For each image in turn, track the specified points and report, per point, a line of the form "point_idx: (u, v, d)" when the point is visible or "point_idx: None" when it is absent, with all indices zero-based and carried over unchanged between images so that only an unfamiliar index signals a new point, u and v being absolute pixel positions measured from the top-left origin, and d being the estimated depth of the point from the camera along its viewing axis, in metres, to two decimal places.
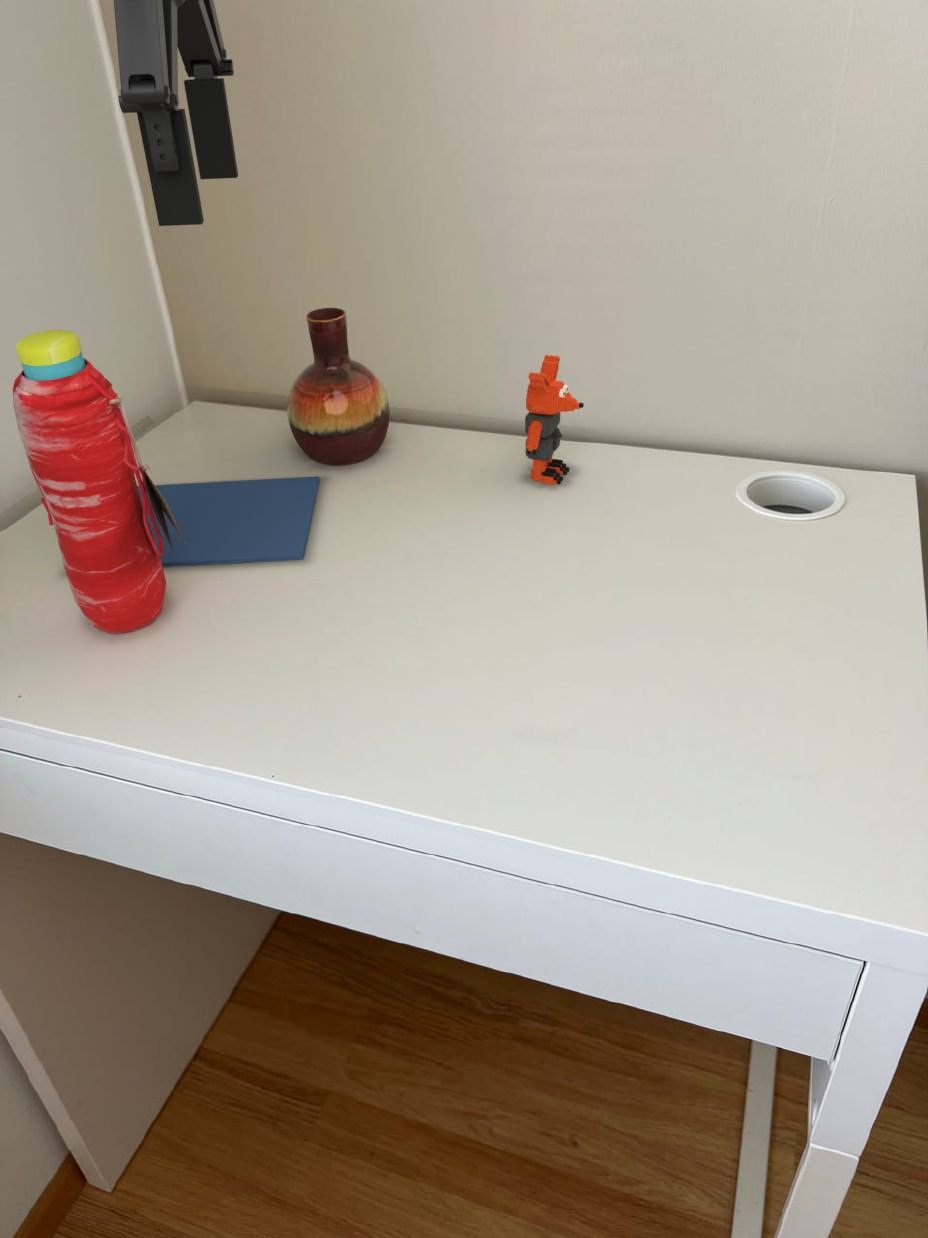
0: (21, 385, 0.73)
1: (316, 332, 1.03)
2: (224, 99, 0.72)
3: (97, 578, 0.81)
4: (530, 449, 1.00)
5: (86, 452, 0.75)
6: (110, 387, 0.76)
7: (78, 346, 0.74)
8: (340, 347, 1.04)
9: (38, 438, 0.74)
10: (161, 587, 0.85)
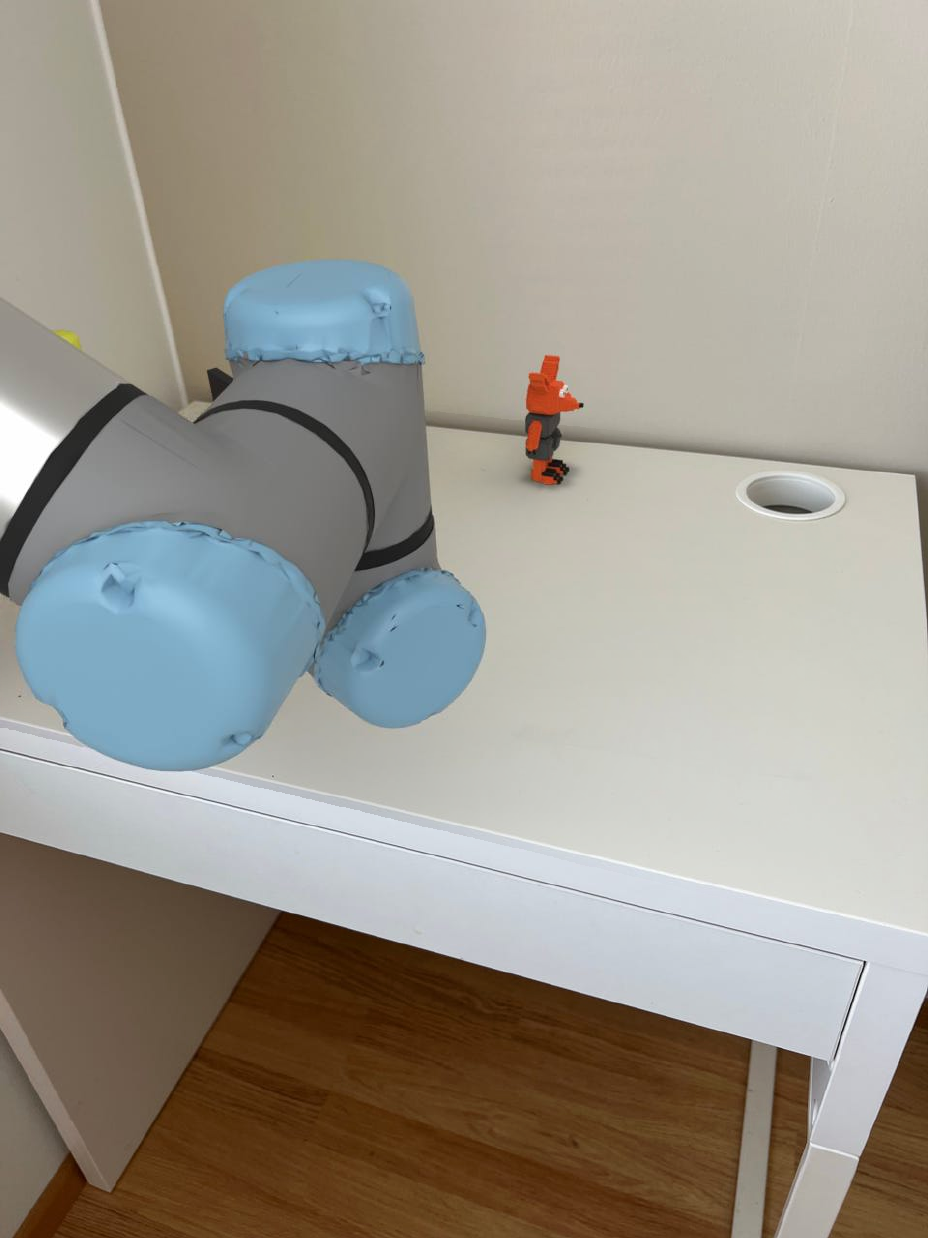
0: None
1: None
2: None
3: None
4: (530, 449, 1.00)
5: None
6: None
7: (78, 346, 0.74)
8: None
9: None
10: None
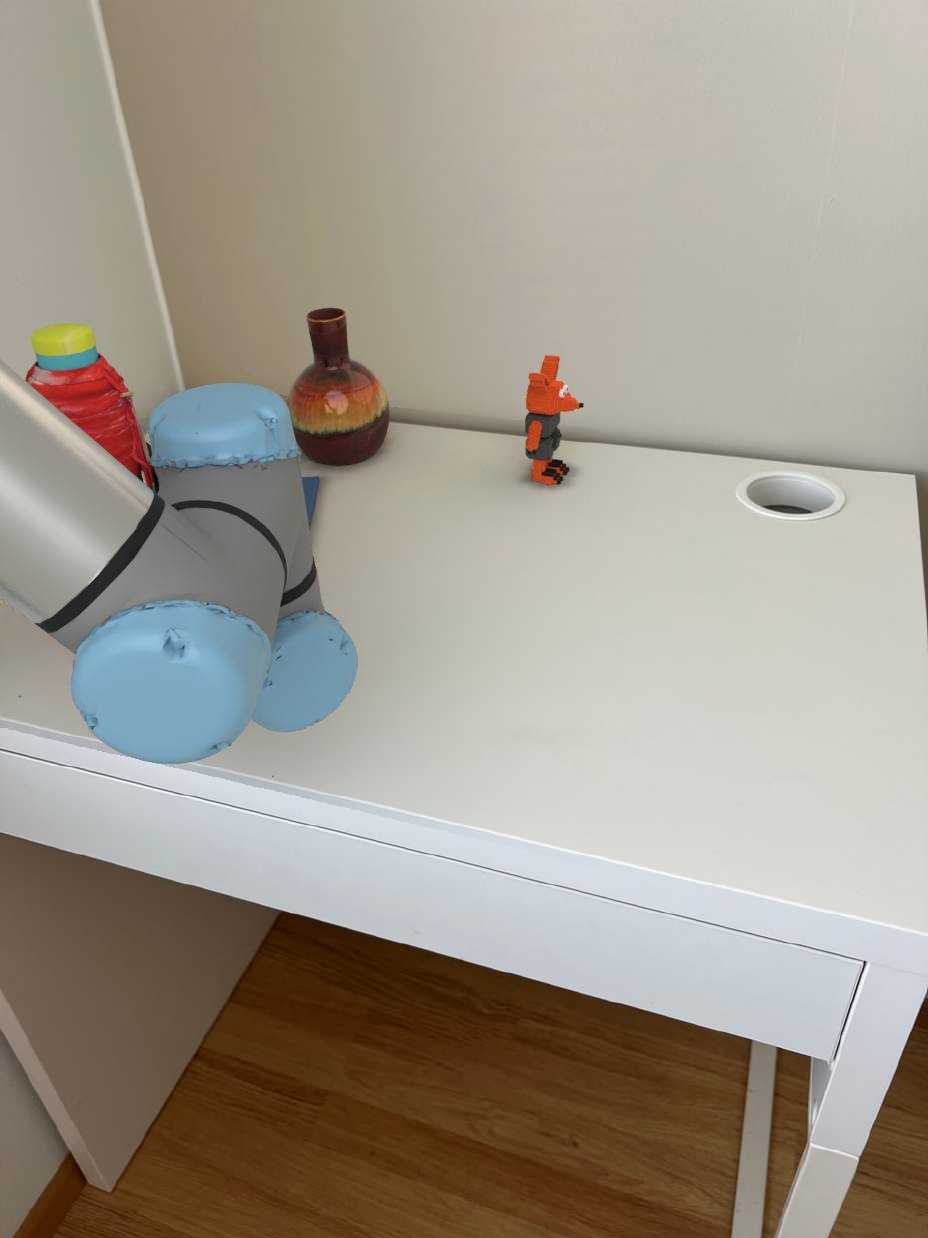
0: (34, 375, 0.74)
1: (316, 332, 1.03)
2: (157, 483, 0.82)
3: None
4: (530, 449, 1.00)
5: None
6: (122, 381, 0.77)
7: (92, 339, 0.75)
8: (340, 347, 1.04)
9: None
10: None
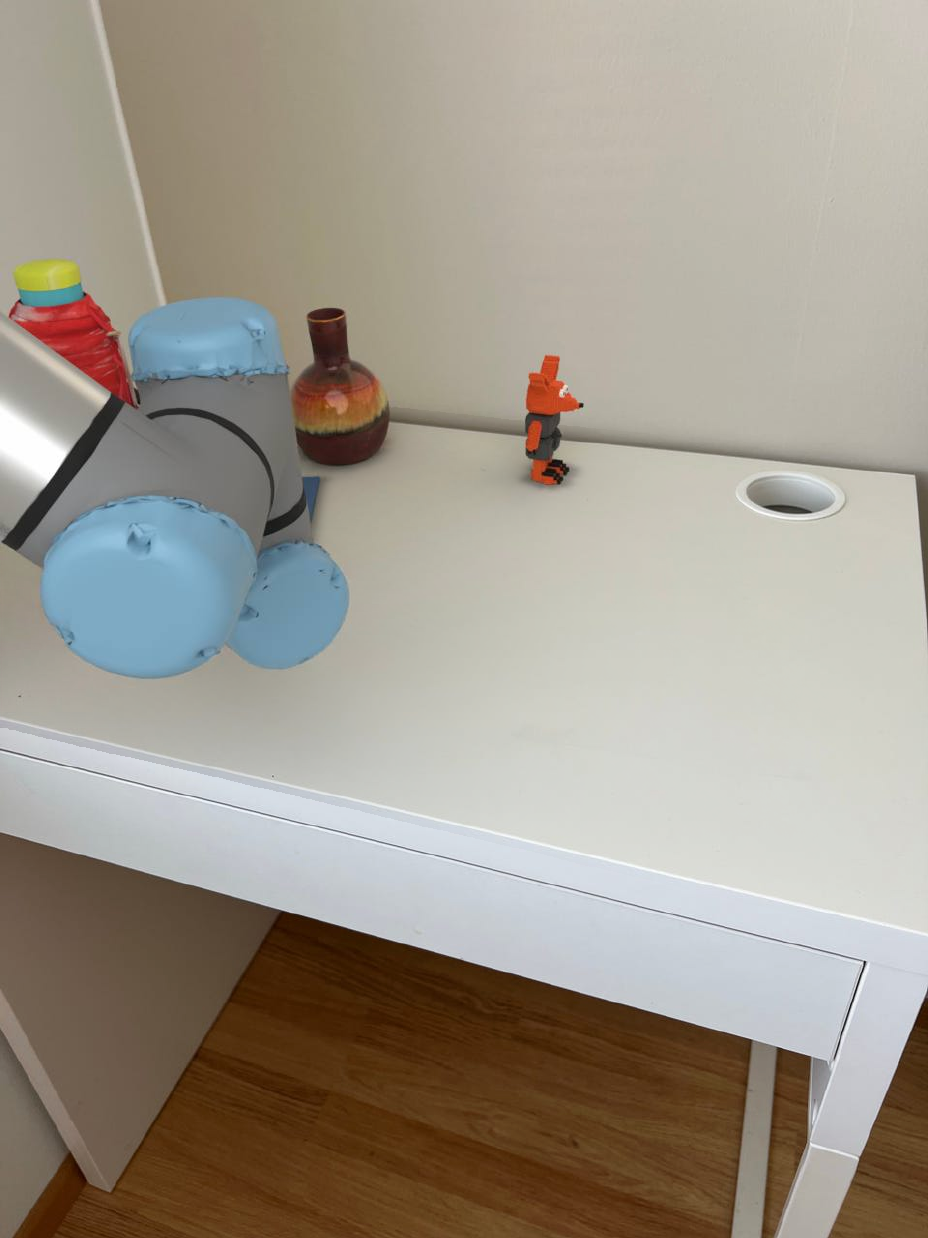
0: (17, 312, 0.72)
1: (316, 332, 1.03)
2: None
3: None
4: (530, 449, 1.00)
5: None
6: (108, 321, 0.74)
7: (78, 275, 0.72)
8: (340, 347, 1.04)
9: None
10: None
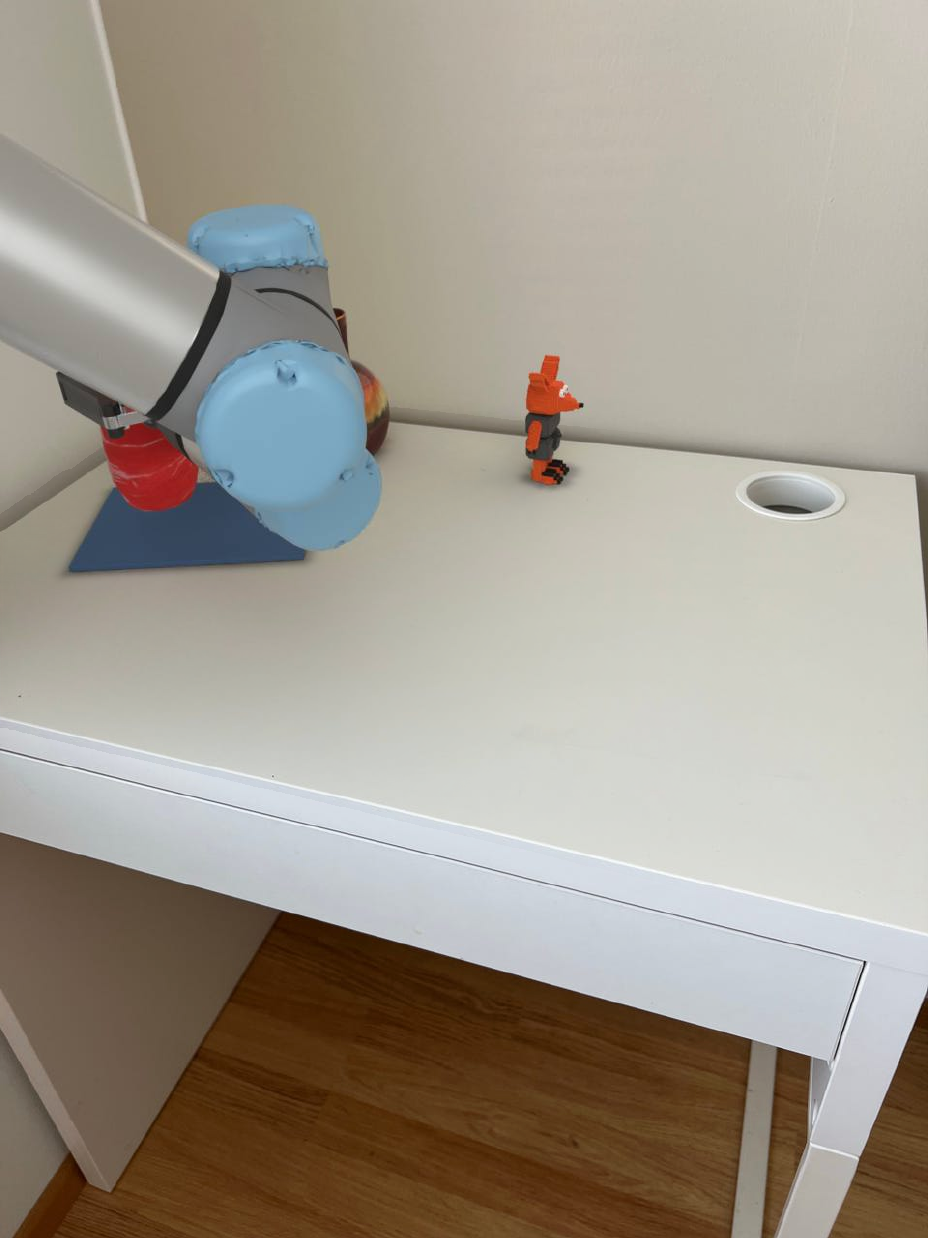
0: None
1: None
2: None
3: (130, 452, 0.85)
4: (530, 449, 1.00)
5: None
6: None
7: None
8: None
9: None
10: (192, 470, 0.89)
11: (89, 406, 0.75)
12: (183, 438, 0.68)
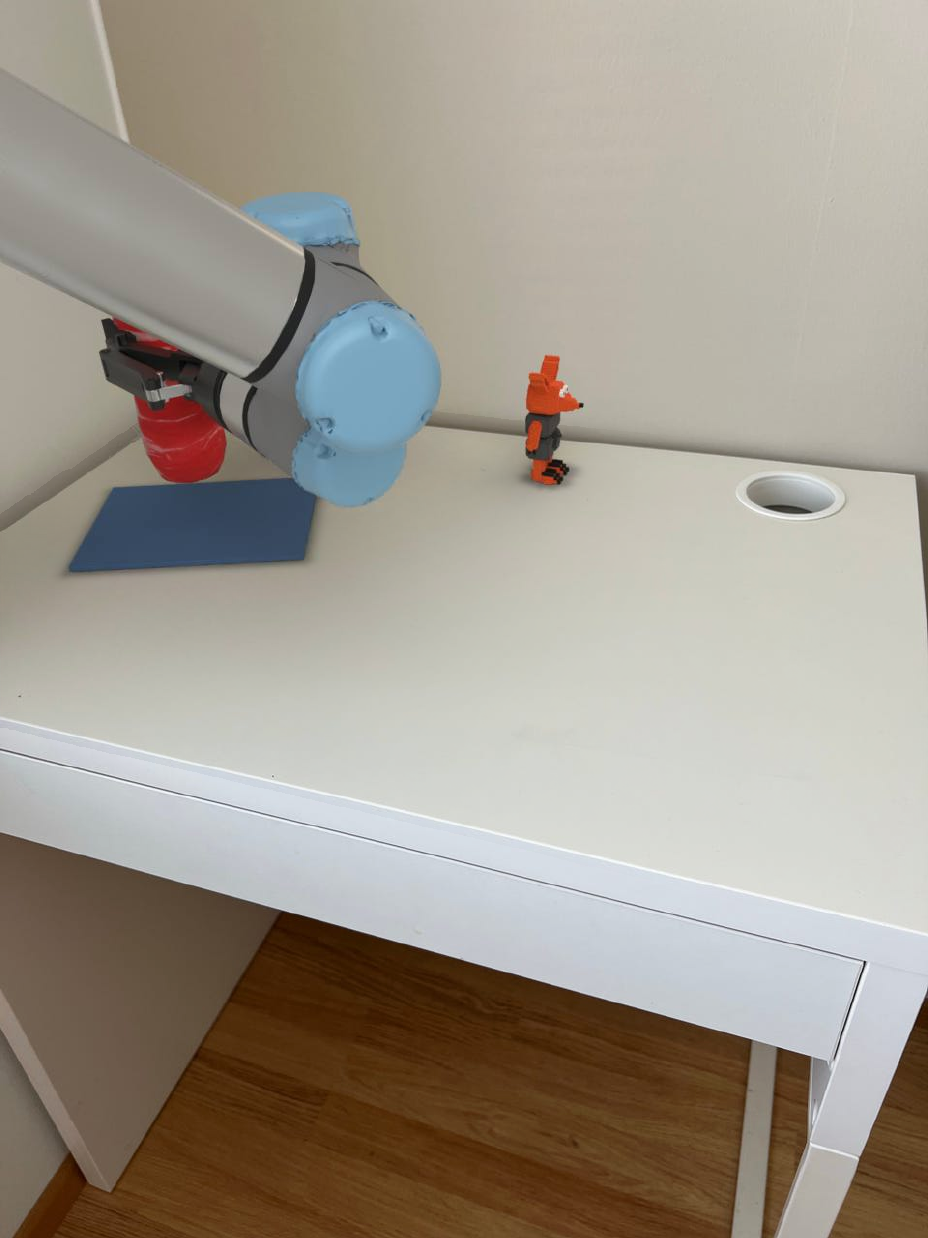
0: None
1: None
2: None
3: (164, 426, 0.91)
4: (530, 449, 1.00)
5: None
6: None
7: None
8: None
9: None
10: (221, 444, 0.95)
11: (131, 381, 0.81)
12: (222, 408, 0.74)
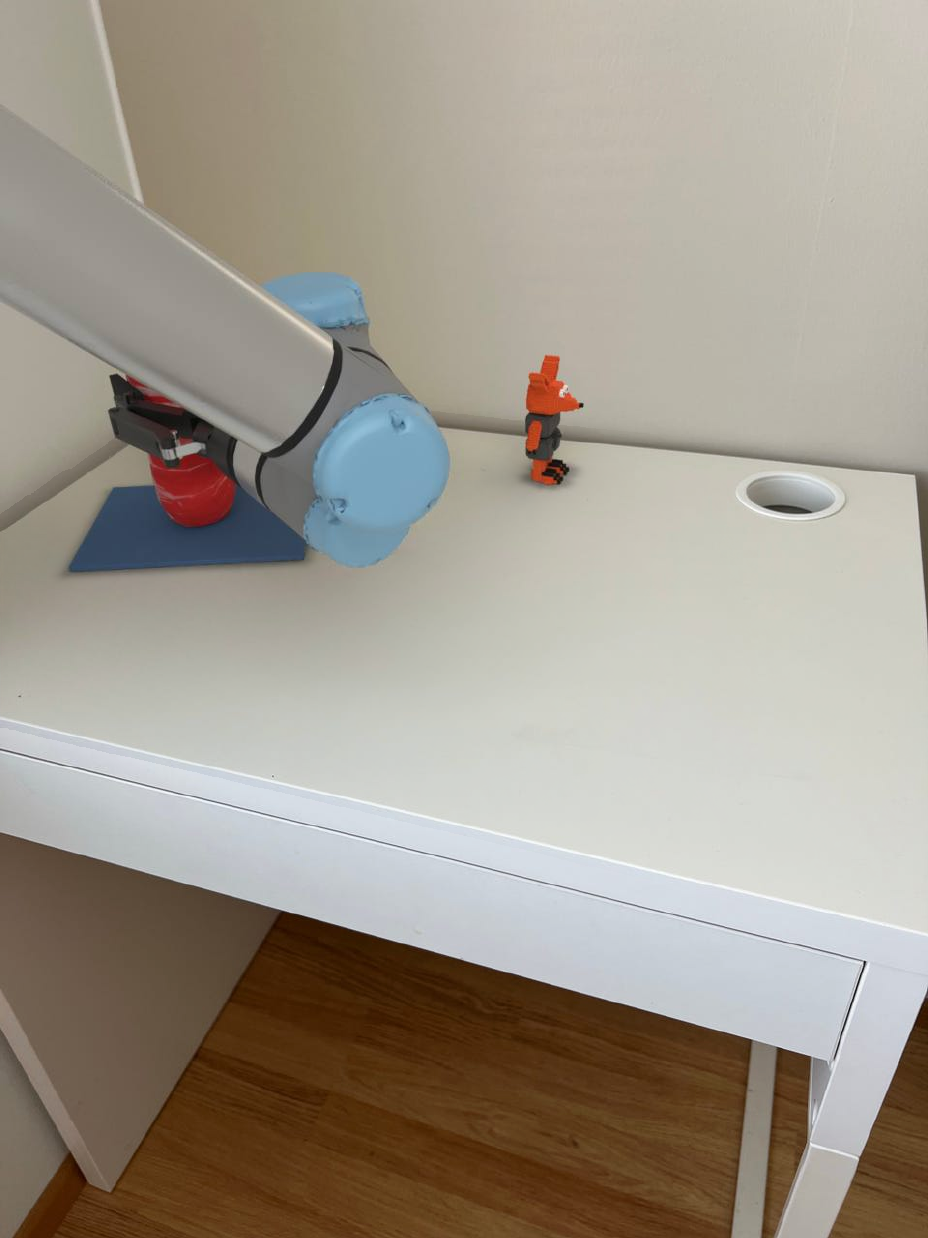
0: None
1: None
2: None
3: (176, 475, 0.94)
4: (530, 449, 1.00)
5: None
6: None
7: None
8: None
9: None
10: (230, 489, 0.98)
11: (144, 439, 0.84)
12: (235, 468, 0.77)
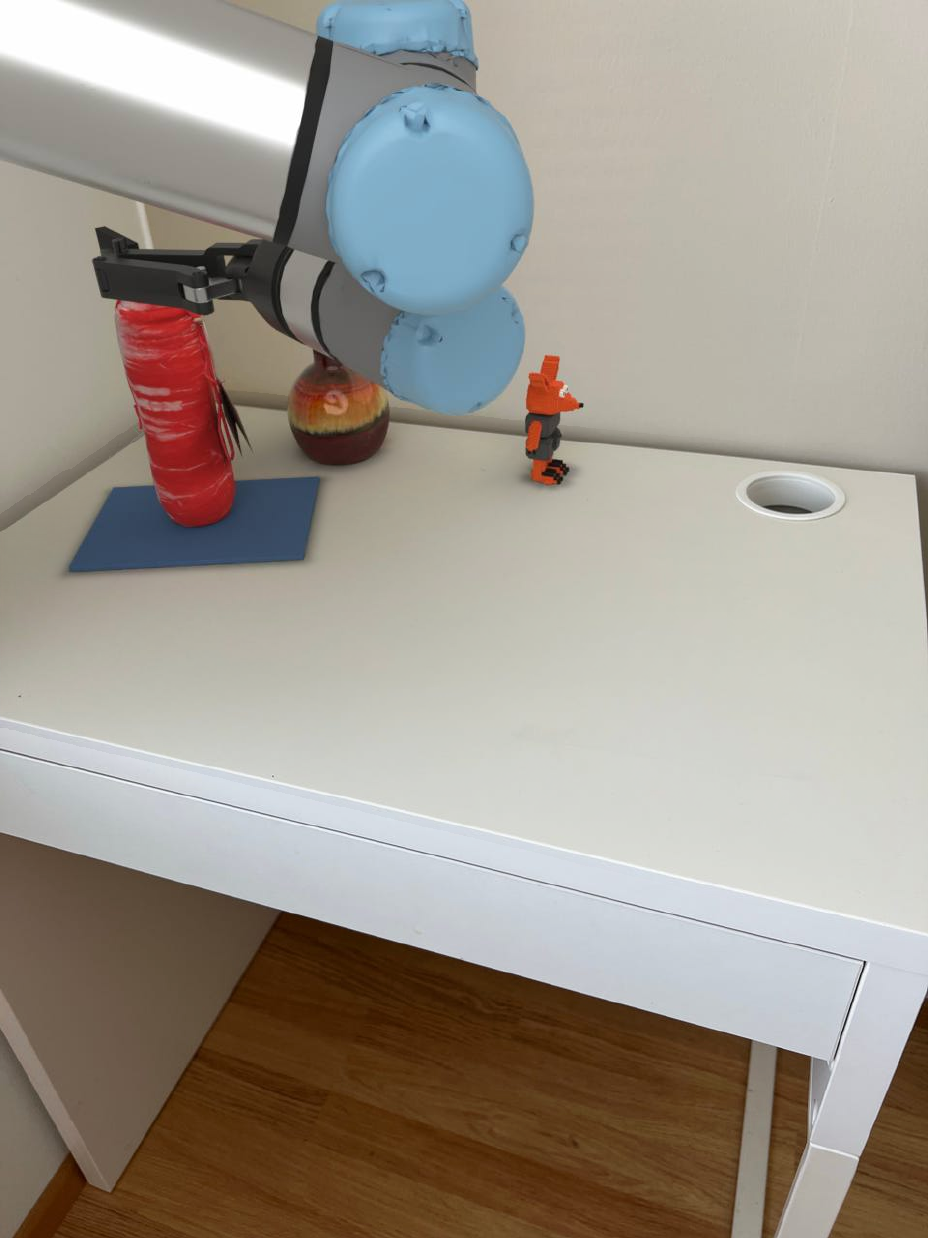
0: (122, 302, 0.87)
1: None
2: None
3: (176, 475, 0.94)
4: (530, 449, 1.00)
5: (172, 362, 0.88)
6: None
7: None
8: None
9: (133, 348, 0.87)
10: (230, 489, 0.98)
11: (156, 287, 0.64)
12: (283, 300, 0.60)
